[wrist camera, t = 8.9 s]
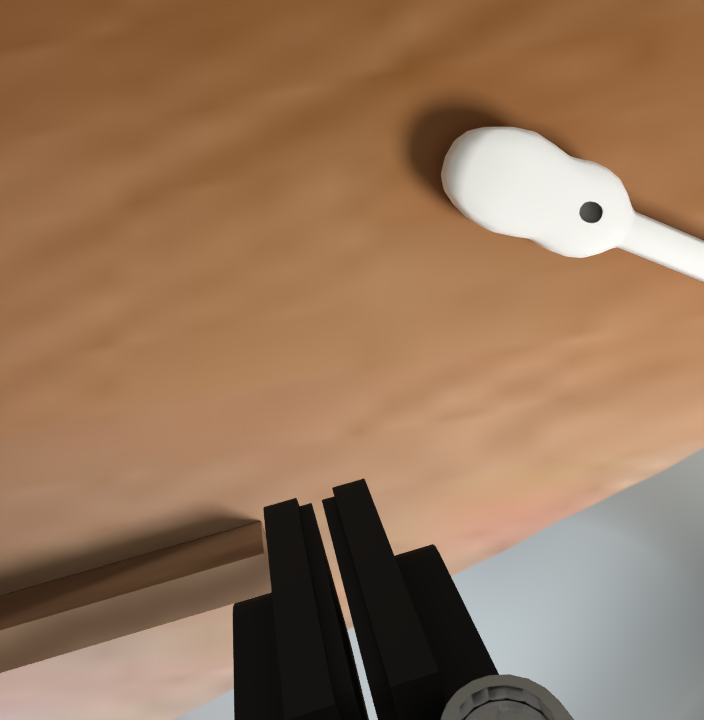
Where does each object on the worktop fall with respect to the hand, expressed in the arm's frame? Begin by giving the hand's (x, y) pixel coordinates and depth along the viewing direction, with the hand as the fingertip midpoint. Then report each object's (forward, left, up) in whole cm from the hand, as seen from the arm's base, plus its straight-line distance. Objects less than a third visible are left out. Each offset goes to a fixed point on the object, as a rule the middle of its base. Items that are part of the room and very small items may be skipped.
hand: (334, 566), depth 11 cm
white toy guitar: (+5, +23, -29) cm, 38 cm away
